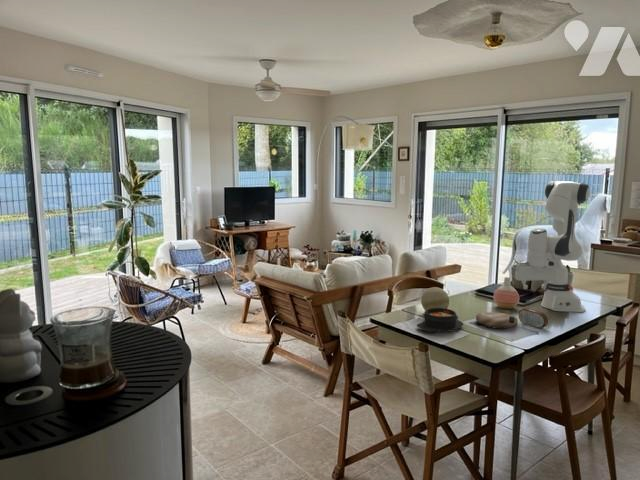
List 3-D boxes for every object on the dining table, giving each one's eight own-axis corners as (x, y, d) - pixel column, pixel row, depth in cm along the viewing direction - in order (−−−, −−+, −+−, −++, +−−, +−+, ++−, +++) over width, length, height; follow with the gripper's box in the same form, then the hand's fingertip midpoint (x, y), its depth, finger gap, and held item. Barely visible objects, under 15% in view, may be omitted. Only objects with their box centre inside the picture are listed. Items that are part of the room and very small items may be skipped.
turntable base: (511, 321, 251) (511, 318, 251) (510, 329, 238) (510, 326, 238) (482, 318, 256) (483, 315, 256) (481, 326, 243) (481, 323, 243)
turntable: (525, 321, 245) (525, 313, 244) (502, 330, 233) (503, 321, 232) (491, 312, 261) (491, 304, 260) (468, 319, 249) (468, 311, 248)
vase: (514, 304, 280) (516, 275, 277) (521, 311, 267) (523, 280, 264) (490, 304, 282) (491, 274, 279) (496, 311, 268) (498, 280, 265)
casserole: (445, 319, 255) (446, 303, 254) (472, 329, 239) (472, 313, 238) (408, 326, 244) (409, 310, 242) (433, 338, 227) (434, 321, 226)
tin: (547, 329, 238) (549, 313, 237) (544, 330, 237) (545, 314, 235) (520, 321, 251) (521, 305, 249) (516, 322, 249) (517, 306, 248)
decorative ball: (437, 320, 253) (438, 292, 251) (415, 313, 265) (415, 287, 262) (454, 314, 263) (455, 287, 260) (432, 308, 274) (432, 282, 272)
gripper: (519, 263, 234) (517, 290, 236) (559, 262, 236) (557, 289, 238) (513, 260, 241) (511, 287, 243) (552, 260, 242) (550, 286, 245)
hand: (534, 288), depth 241 cm, fingers open, 8 cm apart
